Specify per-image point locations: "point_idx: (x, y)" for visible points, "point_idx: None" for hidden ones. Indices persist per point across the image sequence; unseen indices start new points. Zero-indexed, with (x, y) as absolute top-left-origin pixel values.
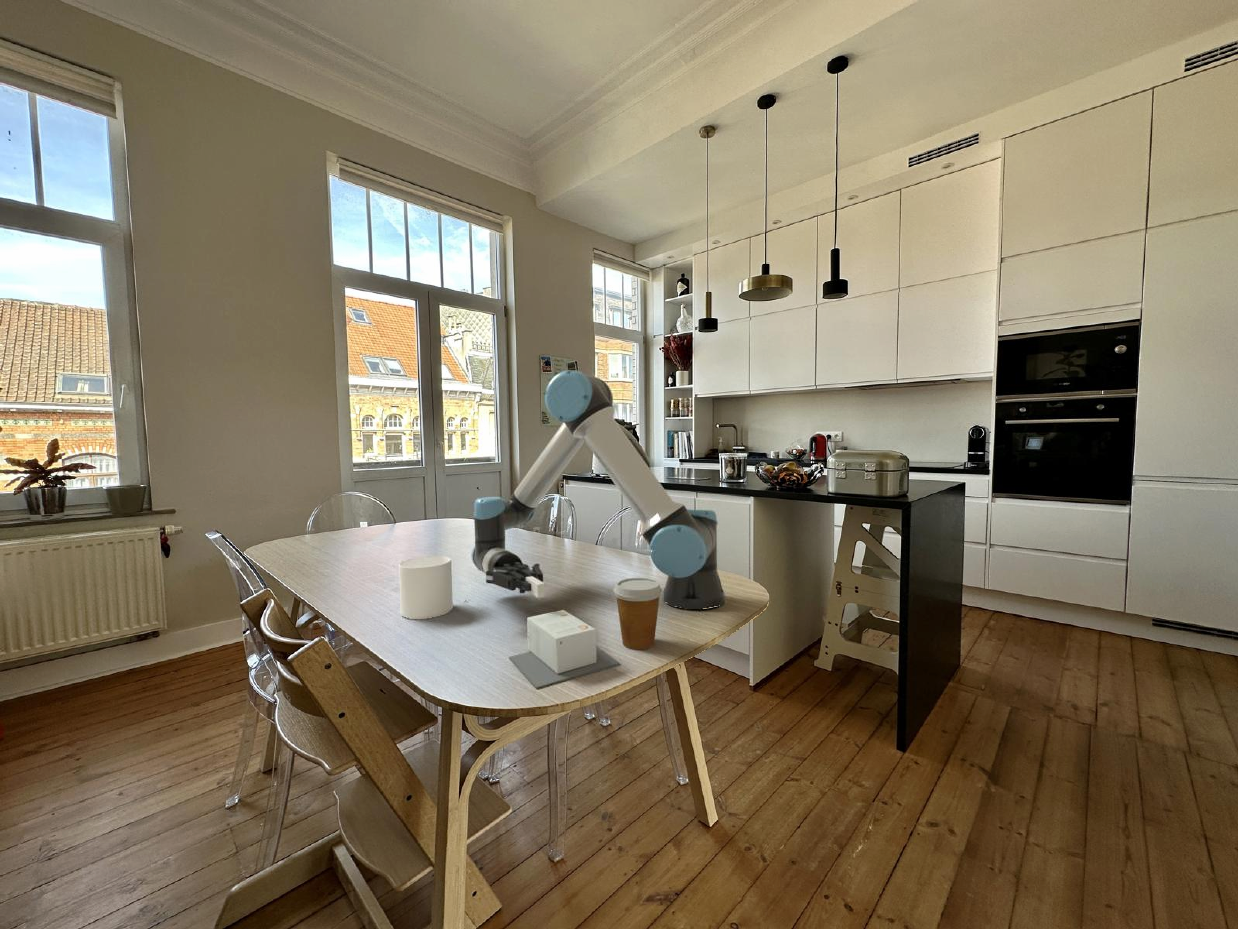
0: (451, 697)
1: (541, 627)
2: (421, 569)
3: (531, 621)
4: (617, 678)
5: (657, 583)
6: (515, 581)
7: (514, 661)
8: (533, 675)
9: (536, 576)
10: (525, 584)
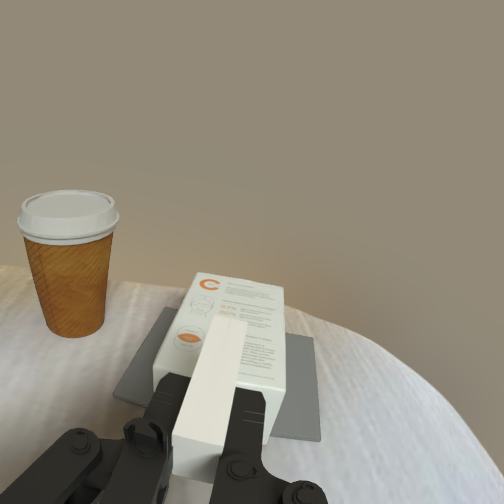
0: (423, 382)
1: (282, 328)
2: None
3: (285, 367)
4: None
5: (53, 191)
6: (288, 482)
7: (317, 415)
8: (304, 359)
9: (103, 470)
10: (264, 400)
